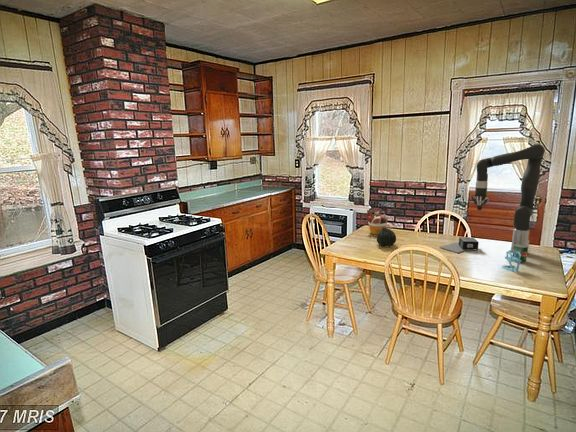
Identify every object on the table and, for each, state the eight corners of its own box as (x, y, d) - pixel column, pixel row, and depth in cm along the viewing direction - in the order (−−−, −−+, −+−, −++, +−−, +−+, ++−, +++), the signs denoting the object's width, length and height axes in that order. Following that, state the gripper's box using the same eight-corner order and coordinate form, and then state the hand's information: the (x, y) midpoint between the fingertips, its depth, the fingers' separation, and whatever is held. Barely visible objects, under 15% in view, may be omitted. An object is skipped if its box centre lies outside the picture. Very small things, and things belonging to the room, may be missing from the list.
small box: (477, 250, 252) (473, 245, 261) (479, 242, 250) (474, 237, 260) (462, 249, 254) (458, 244, 264) (463, 241, 252) (459, 236, 262)
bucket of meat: (391, 232, 305) (392, 210, 301) (383, 236, 292) (384, 213, 288) (369, 229, 317) (370, 207, 312) (362, 233, 304) (362, 211, 300)
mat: (474, 248, 258) (474, 247, 258) (457, 253, 249) (457, 252, 248) (456, 243, 271) (456, 242, 271) (439, 247, 261) (439, 246, 261)
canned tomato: (526, 264, 226) (528, 247, 223) (512, 262, 230) (514, 246, 227) (525, 260, 233) (527, 244, 230) (511, 258, 236) (513, 242, 234)
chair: (509, 272, 214) (511, 253, 212) (501, 266, 222) (504, 249, 220) (522, 271, 214) (524, 253, 211) (514, 266, 222) (516, 248, 219)
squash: (403, 239, 266) (392, 222, 272) (390, 244, 258) (379, 227, 264) (391, 247, 277) (382, 231, 283) (379, 252, 269) (369, 235, 274)
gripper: (493, 187, 250) (491, 210, 254) (475, 185, 261) (473, 208, 265) (487, 188, 246) (485, 212, 250) (469, 186, 257) (467, 209, 261)
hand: (479, 210), depth 257 cm, fingers closed
